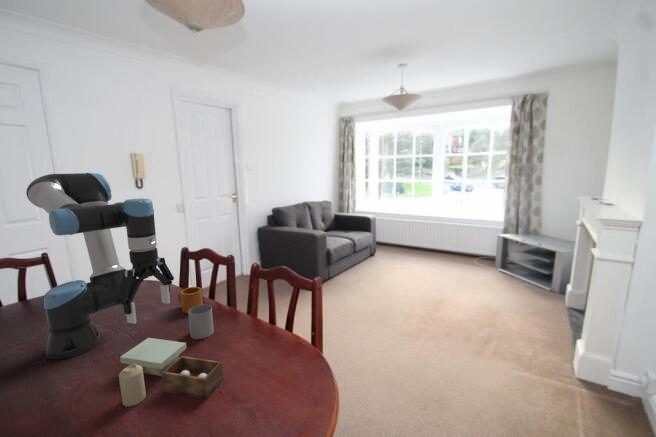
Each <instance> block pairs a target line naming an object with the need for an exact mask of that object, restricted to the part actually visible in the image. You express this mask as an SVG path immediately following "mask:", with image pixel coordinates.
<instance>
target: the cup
mask: <svg viewBox="0 0 656 437" xmlns="http://www.w3.org/2000/svg"><path fill="white" fill-rule="evenodd" d="M187 314H188V324H189V335H190V338H191V339H193V340H201V339H206V338H208V337H210V336H212V335H213V334H214V321H213V320H214V318H213V307H212V306H211V305H210V304H203V305H197V306H194V307H192V308H191V309H189V311H188V313H187Z"/></svg>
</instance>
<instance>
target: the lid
mask: <svg viewBox="0 0 656 437" xmlns="http://www.w3.org/2000/svg"><path fill="white" fill-rule="evenodd" d="M186 349H187V342H182V341H181V342H180V341H176V340H167V339H160V338H154V337H153V338H152V337H147V338H145V339H144V340H142V341H141V342H139V344H137V345H136V346H134V347H133V348H131V349H130V350H128V351H127V352H125V353H124V354H122V355H121V356H119V358H120V360H119V361H120V364H127V365H130V364H133V363H134V364H136V365H139V366H144V367H150V368H156V369H163V368H164V367H165V366H166V365H168V364H169V363H170V362H171V361H172V360H173V359H175V358H176V357H177V356H178V355H179V356H180V355H181V354H182V353H183V352H184V351H185V350H186Z"/></svg>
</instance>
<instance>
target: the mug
mask: <svg viewBox="0 0 656 437" xmlns="http://www.w3.org/2000/svg"><path fill="white" fill-rule="evenodd" d="M177 299H178V303H179V305H180V306H181V311H182V313H184V314H188V311H189V309H191V308H192V307H194V306H197V305H204V303H203V289H202V287H199V286H191V287H186V288H183V289H182V290H180V291H179V292H178V295H177Z"/></svg>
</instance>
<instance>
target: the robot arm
mask: <svg viewBox="0 0 656 437" xmlns="http://www.w3.org/2000/svg"><path fill="white" fill-rule="evenodd" d="M25 194H26V198H27V199H28V201H29V202H30V203H31V204H32V205H34V206H35V207H37V208H40V209H43V210H44V211H45V212H46V213H47V214H48V221H49V226H50V229H51V231H52V233H53V234H54V235H55V236H71V235H76V234H77V235H78V234H82V235H83V237H84V241H85V242H84V243H85V246H86V250H87V253H88V258H89V261H90V265H91V269H92V273H91V275H89V277H88V278H89V281H90V282H86V281H85V280H81V279H77V280H71V281H66V282H64V283H62V284H61V283H60V284H59V285H56V286H55V287H52V288H50V289H49V290H48V291H47V292H46V293H45V294H44V295H43V304H44V305H43V308H44V311H45V315H46V321H47V326H48V332H49V334H48V337H47V338H48V339H47V343H46V347H45V350H44V351H45V356H46V358H47V359H49V360H65V359H70V358H72V357H76V356H80V355H82V354H84V353H87V352H88V351H90V350H92V349H93V348H95V347H97V346H98V345H99V343H100V342H101V336H100V335H101V334H100V332H99V331H98V329H97V328H96V326H95V324H94V323H93V321H92V315H93V314H96V313H100V312H102V311H103V312H104V311H105V310H106V311H107V310H108V309H109V310H110V309H112V308H115V307H119V306H123V312H124V313H123V314H125V315H126V323H129V324H134V325H135V324H136V323H137V314H136V313H137V312H136V306H135V305H136V304H135V302H134V301H133V300H134V299H135V296H136V294H137V292H138V290H139V288H140V286H141V284H142V283H143V282H144V280H146V279H149V277H154V278H156V280H158V282H160V283H161V284H160V285H159V287H160V289H159V290H160V295H161V296H160V297H161V304H167V305H168V304H170V303H171V297H170V293H171V288H170V285H172V284H173V281H175V280H174V279H175V277H174V275H173V273H172V271H171V270H170V268H169V267H168V266H167V264H166V260H165V257H160V256H159V254H158V253H159V252H158V248H157V246H158V245H157V244H158V243H157V234H156V233H157V232H156V225H155V224H156V223H155V209H154V206H153V200H151V199H150V198H131V199H129V198H128V199H125V200H124V201H122V202H115V203H113V204H112V203H111V204H109V202H110V201H111V200H112V189H111V186H110V183H109V181H108V179H107V178H106V177H105V176H104V175H102V174H100V173H96V172H95V173H93V172H86V173H82V172H81V173H50V174H45V175H43V176H40V177H37V178H35V179H34V180H32V181H31V182H30V183H29V185H27V188H26V193H25ZM123 227H124V228H126V237H127V244H128V245H127V247H128V250H130V251H129V252H128V254H129V261H130V263H131V265H132V268H131V269H126V268H125V267H123V266H121V265H120V262H119V258H118V255H117V254H118V253H117V250H116V246H115V243H114V238H113V235H112V232H111V229H117V228H123ZM157 267H158V268H157ZM137 324H138V323H137Z"/></svg>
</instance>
